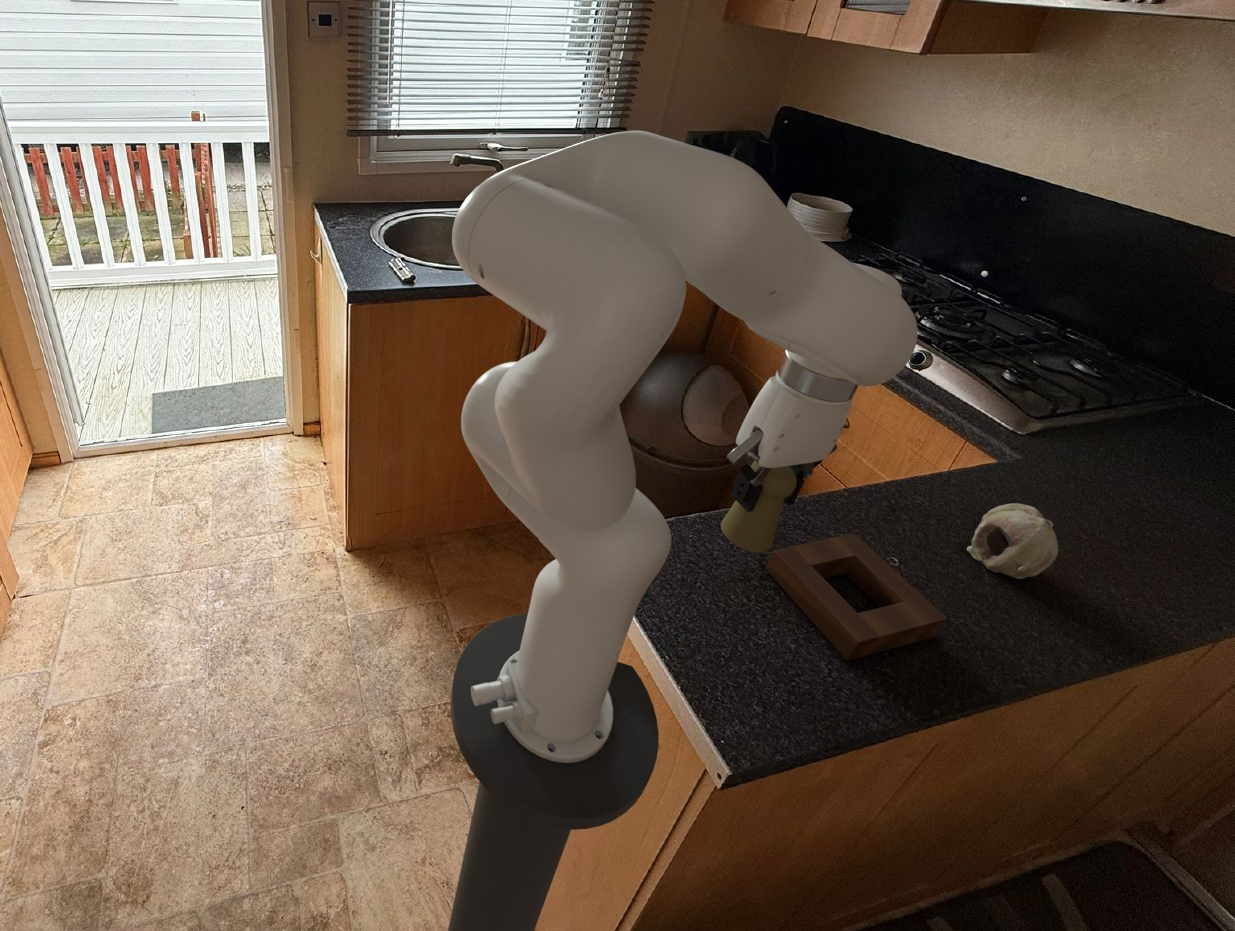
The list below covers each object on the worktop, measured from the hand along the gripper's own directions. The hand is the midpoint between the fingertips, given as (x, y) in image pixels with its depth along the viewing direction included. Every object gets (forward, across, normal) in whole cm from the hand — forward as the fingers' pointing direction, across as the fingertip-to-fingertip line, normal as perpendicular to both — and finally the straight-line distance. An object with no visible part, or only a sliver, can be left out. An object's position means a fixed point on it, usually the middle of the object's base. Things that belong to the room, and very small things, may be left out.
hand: (761, 498), depth 80 cm
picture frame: (+14, -13, +7) cm, 20 cm away
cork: (+6, 0, 0) cm, 6 cm away
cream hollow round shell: (+13, -40, +7) cm, 43 cm away
